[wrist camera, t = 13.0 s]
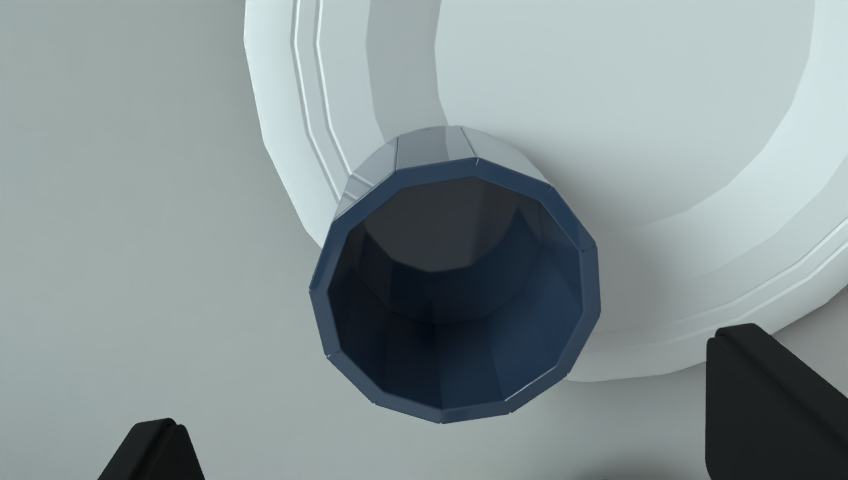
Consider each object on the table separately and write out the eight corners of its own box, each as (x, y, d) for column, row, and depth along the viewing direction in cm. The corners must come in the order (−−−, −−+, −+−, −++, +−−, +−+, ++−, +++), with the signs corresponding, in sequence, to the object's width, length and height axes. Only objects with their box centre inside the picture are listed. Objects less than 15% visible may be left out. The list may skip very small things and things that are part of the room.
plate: (139, 167, 21) (115, 180, 20) (532, -679, 14) (549, -779, 13) (661, 448, 26) (679, 478, 25) (1138, -77, 19) (1212, -88, 18)
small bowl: (360, 342, 22) (345, 439, 17) (315, 145, 19) (282, 188, 14) (559, 312, 22) (607, 400, 17) (542, 108, 19) (591, 138, 14)
